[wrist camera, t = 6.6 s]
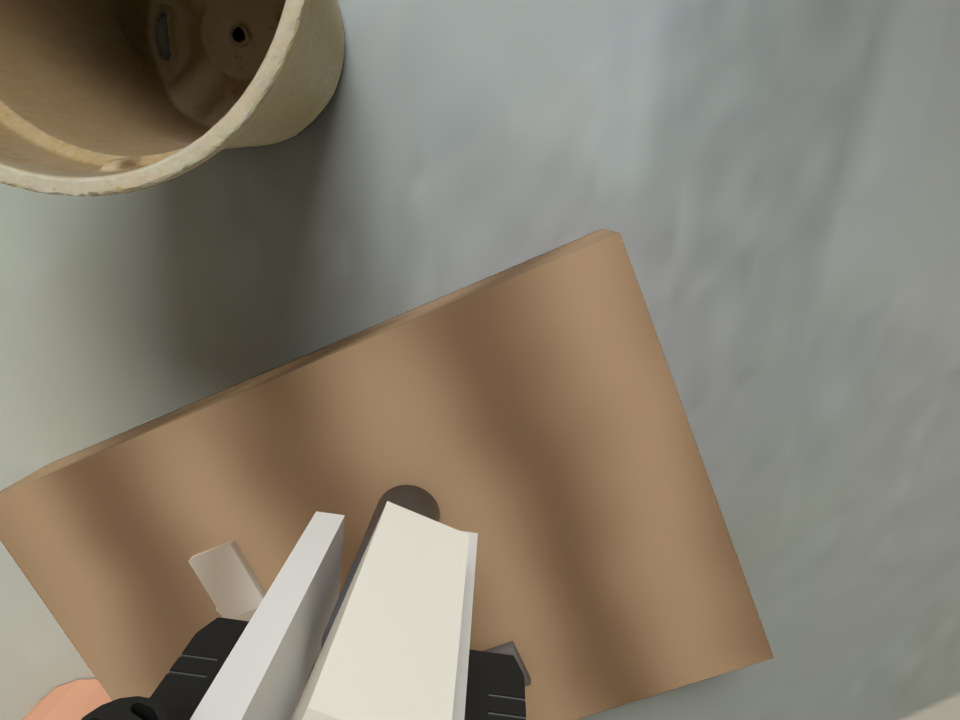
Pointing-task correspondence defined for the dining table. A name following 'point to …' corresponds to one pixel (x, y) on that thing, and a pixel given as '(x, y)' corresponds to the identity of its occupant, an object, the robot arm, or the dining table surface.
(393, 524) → the white angular block
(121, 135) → the flower pot
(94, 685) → the salt shaker
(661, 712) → the dining table surface
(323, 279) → the dining table surface
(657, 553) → the tuner board
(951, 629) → the dining table surface
